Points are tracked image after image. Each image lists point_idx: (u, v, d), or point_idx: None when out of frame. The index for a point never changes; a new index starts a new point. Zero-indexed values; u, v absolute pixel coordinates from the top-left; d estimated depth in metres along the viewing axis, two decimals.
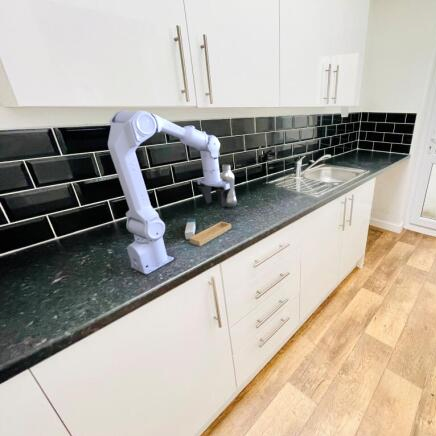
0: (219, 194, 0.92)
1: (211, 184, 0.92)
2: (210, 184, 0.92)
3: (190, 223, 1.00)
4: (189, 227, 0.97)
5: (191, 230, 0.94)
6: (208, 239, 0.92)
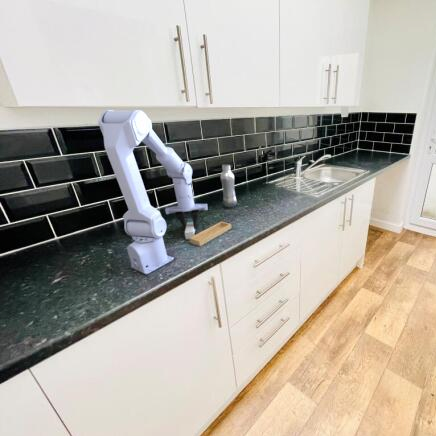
0: (195, 217, 0.95)
1: (191, 209, 0.93)
2: (190, 209, 0.93)
3: (190, 223, 1.00)
4: (189, 227, 0.97)
5: (191, 230, 0.94)
6: (208, 239, 0.92)
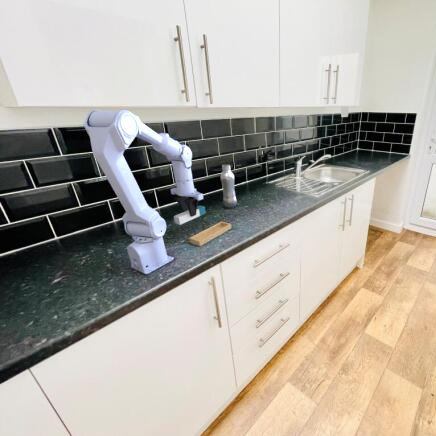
0: (188, 204, 0.91)
1: (184, 195, 0.90)
2: (183, 195, 0.90)
3: None
4: (185, 212, 0.94)
5: (180, 216, 0.91)
6: (208, 239, 0.92)
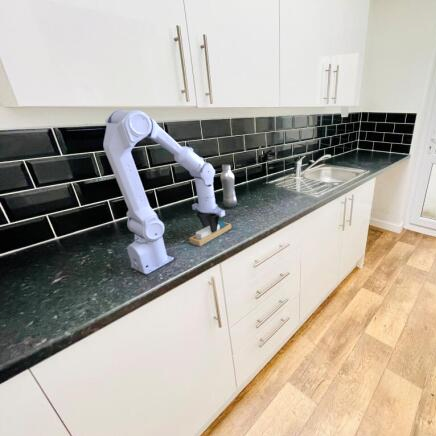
0: (210, 220, 0.91)
1: (206, 211, 0.90)
2: (205, 211, 0.90)
3: None
4: (206, 228, 0.94)
5: (202, 232, 0.91)
6: (208, 239, 0.92)
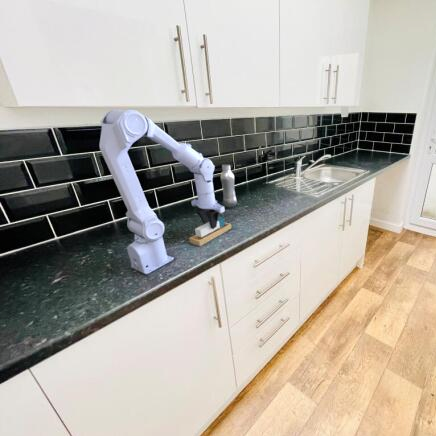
0: (209, 216, 0.90)
1: (205, 207, 0.89)
2: (204, 207, 0.89)
3: None
4: (206, 225, 0.93)
5: (201, 228, 0.91)
6: (208, 239, 0.92)
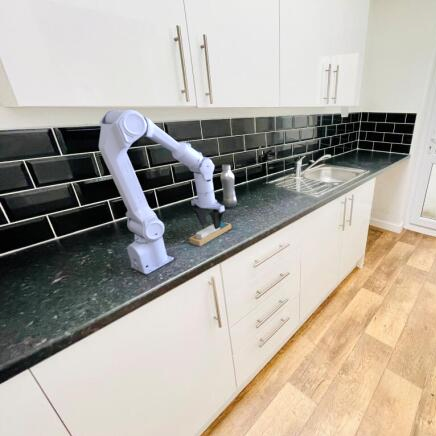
0: (213, 217, 0.89)
1: (205, 207, 0.89)
2: (204, 206, 0.89)
3: None
4: (207, 229, 0.94)
5: (202, 233, 0.91)
6: (208, 239, 0.92)
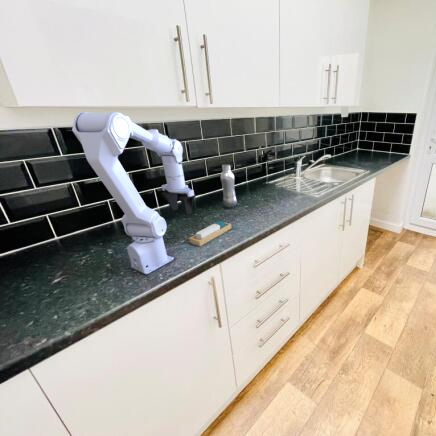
0: (183, 201, 0.87)
1: (174, 191, 0.87)
2: (173, 191, 0.87)
3: (214, 225, 0.97)
4: (207, 229, 0.94)
5: (202, 233, 0.91)
6: (208, 239, 0.92)
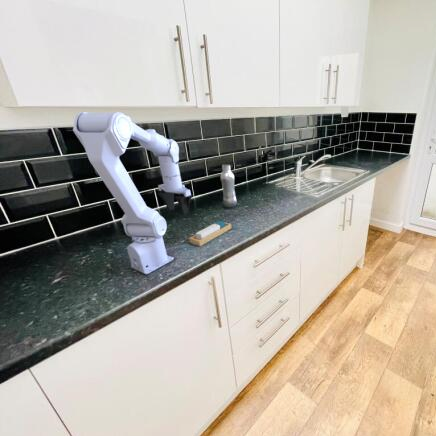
0: (179, 201, 0.87)
1: (171, 191, 0.87)
2: (170, 191, 0.87)
3: (214, 225, 0.97)
4: (207, 229, 0.94)
5: (202, 233, 0.91)
6: (208, 239, 0.92)
